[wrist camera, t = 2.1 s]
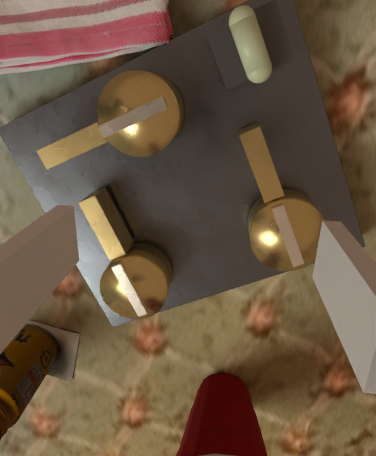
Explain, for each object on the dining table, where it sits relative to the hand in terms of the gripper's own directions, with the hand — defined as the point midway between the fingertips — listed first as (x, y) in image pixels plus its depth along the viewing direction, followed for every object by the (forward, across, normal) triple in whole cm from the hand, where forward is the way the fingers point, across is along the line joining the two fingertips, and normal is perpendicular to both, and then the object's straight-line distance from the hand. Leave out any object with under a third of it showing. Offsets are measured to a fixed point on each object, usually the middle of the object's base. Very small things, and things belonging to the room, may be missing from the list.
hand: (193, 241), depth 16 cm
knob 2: (+16, -7, -8) cm, 19 cm away
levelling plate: (+18, -2, -2) cm, 18 cm away
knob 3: (+16, +5, -2) cm, 17 cm away
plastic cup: (+18, +3, -27) cm, 33 cm away
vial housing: (+16, +2, +9) cm, 18 cm away
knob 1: (+16, -8, +3) cm, 18 cm away
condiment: (+18, -19, -23) cm, 35 cm away
